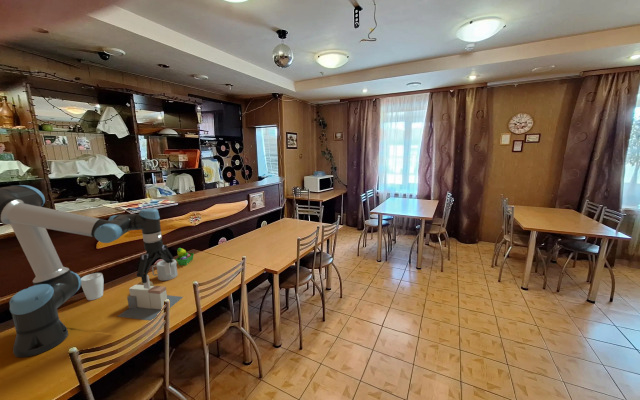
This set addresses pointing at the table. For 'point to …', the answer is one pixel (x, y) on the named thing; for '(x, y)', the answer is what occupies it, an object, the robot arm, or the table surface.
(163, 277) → the mug
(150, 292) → the brown topped white box
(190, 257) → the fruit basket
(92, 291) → the cup
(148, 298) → the cream rectangular block
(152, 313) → the slate mat
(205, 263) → the table surface
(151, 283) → the bread roll
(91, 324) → the table surface
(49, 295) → the robot arm
